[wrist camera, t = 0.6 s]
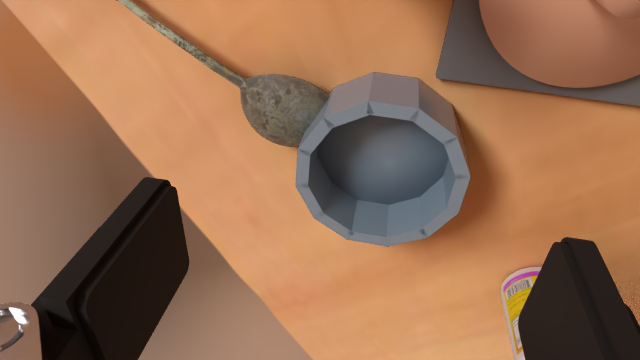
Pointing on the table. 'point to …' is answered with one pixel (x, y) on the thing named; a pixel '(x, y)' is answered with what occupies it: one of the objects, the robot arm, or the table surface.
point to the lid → (567, 39)
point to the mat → (492, 69)
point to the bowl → (383, 161)
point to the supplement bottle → (517, 303)
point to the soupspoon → (259, 92)
